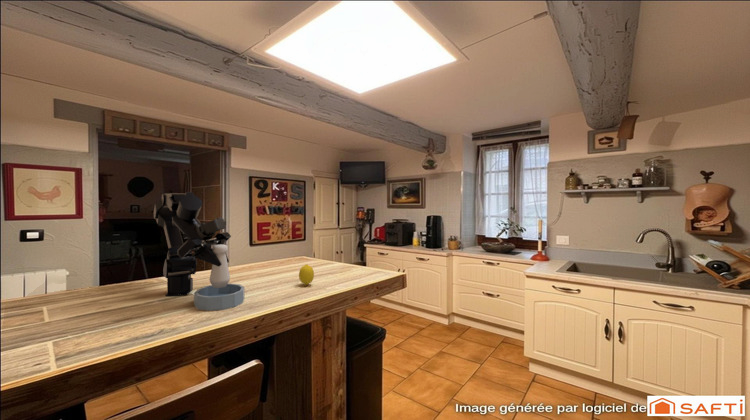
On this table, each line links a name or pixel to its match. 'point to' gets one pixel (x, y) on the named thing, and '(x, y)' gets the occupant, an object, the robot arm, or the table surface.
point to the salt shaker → (220, 268)
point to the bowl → (219, 297)
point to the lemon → (306, 274)
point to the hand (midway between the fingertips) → (224, 264)
